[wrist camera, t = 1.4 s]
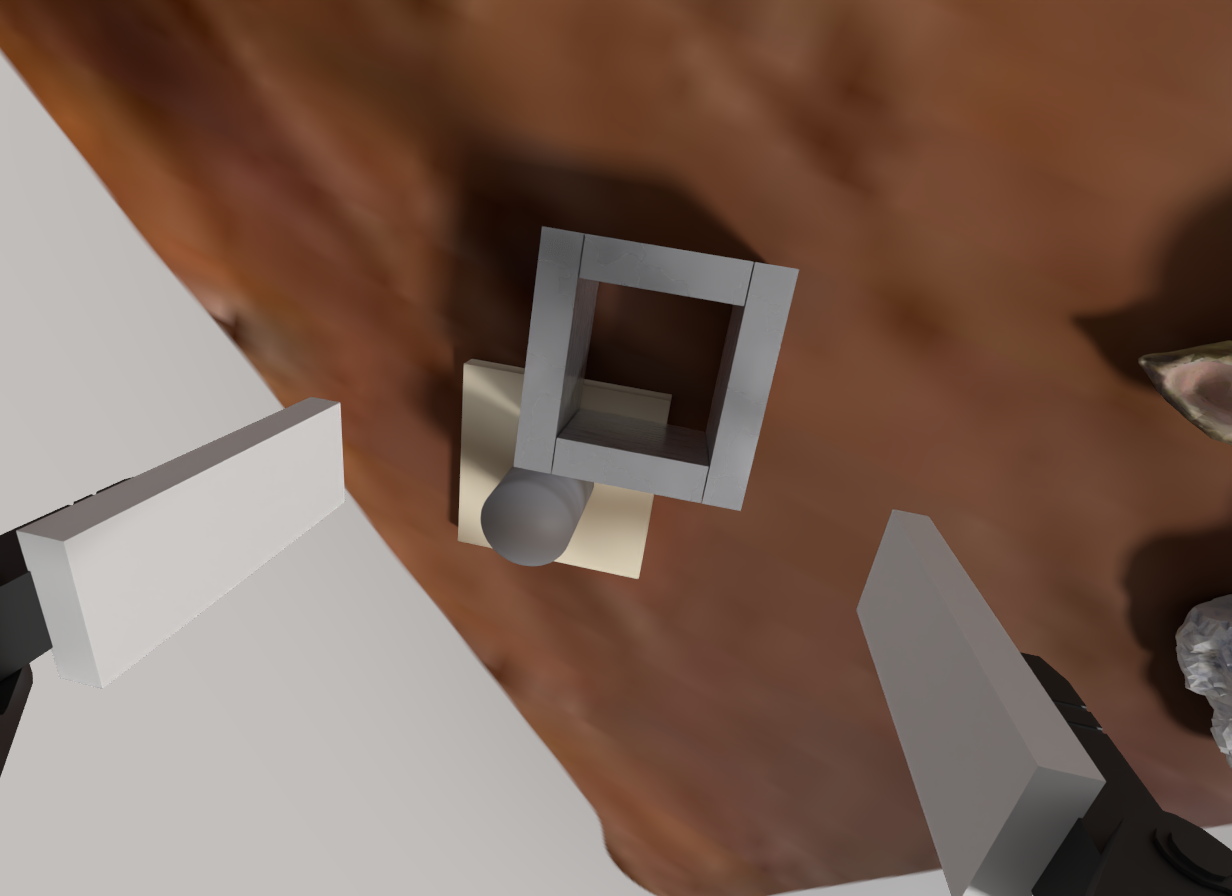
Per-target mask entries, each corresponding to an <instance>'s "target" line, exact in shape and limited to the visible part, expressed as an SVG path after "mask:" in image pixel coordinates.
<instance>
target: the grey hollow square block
mask: <svg viewBox="0 0 1232 896" xmlns="http://www.w3.org/2000/svg"><path fill="white" fill-rule="evenodd" d="M798 271H799V269H794V268H788V267H782V266H776V265H770V264H764V263H758V262H752V261H746V260H740V259H734V258H728V257H722V256H716V255H710V254H704V253H698V252H692V251H686V250H680V249H674V248H668V247H662V246H656V245H650V244H644V243H638V242H632V241H626V240H621V239H615V238H609V237H603V236H597V235H591V234H584V233H579V232H573V231H567V230H561V229H555V228H549V227H543V226H542V231H541V240H540V248H539V256H538V265H537V273H536V282H535V290H534V298H533V307H532V315H531V323H530V332H529V340H528V349H527V357H526V365H525V374H524V382H523V391H522V399H521V407H520V416H519V424H518V433H517V441H516V449H515V458H514V466H513V467H518V468H523V469H528V470H533V471H538V472H543V473H549V474H551V472H552V474H554V475H559V476H564V477H569V478H574V479H579V480H585V481H590V482H595V483H600V484H605V485H610V486H615V487H621V488H626V489H631V490H636V491H641V492H646V493H651V494H656V495H662V496H667V497H672V498H677V499H682V500H687V501H692V502H698V503H701V499H702V503H703V504H708V505H713V506H718V507H723V508H728V509H734V510H739V511H741V507H742V503H743V499H744V495H745V491H746V487H747V482H748V478H749V474H750V470H751V466H752V462H753V458H754V453H755V449H756V445H757V441H758V437H759V433H760V429H761V425H762V420H763V416H764V412H765V408H766V404H767V400H768V396H769V391H770V387H771V383H772V379H773V375H774V371H775V367H776V362H777V358H778V354H779V350H780V346H781V342H782V338H783V333H784V329H785V325H786V321H787V317H788V313H789V309H790V305H791V300H792V296H793V292H794V288H795V284H796V280H797V276H798ZM599 281H601V282H607V283H612V284H618V285H624V286H630V287H636V288H641V289H647V290H653V291H659V292H665V293H670V294H676V295H682V296H688V297H694V298H699V299H705V300H711V301H717V302H723V303H728V304H733V306H732V311H731V316H730V320H729V325H728V330H727V334H726V339H725V344H724V348H723V353H722V358H721V362H720V367H719V372H718V376H717V381H716V386H715V390H714V395H713V400H712V404H711V409H710V414H709V418H708V423H707V428H706V432H705V431H701V430H695V429H690V428H685V427H679V426H674V425H669V424H663V423H658V422H653V421H647V420H642V419H636V418H631V417H626V416H620V415H615V414H610V413H604V412H599V411H594V410H588V409H583V408H581V409H580V405H581V399H582V392H583V385H584V379H585V372H586V365H587V358H588V352H589V345H590V338H591V332H592V325H593V318H594V311H595V305H596V298H597V291H598V285H599Z"/></svg>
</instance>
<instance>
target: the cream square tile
mask: <svg viewBox="0 0 1232 896" xmlns="http://www.w3.org/2000/svg"><path fill="white" fill-rule="evenodd" d="M524 374H525V368H521V367H515V366H510V365H504V364H499V363H493V362H488V361H482V360H477V359H470V360H469V361H467V362H466V363H464V373H463V403H462V434H461V465H460V496H459V527H458V541H461V542H466V543H471V544H476V545H480V546H485V547H490V548H493V549H494V550H495V551H496V552H497V553H498V554H500V555H501V556H503V557H504V558H506V559H507V560H509V561H511V562H514V563H517V564H520V565H525V566H540V565H545V564H548V563H550V562H552V561H556V562H560V563H565V564H570V565H575V566H579V567H584V568H589V569H593V570H598V571H603V572H608V573H612V574H617V575H622V576H626V577H631V578H636V579H638V578H639V574H640V569H641V564H642V559H643V553H644V547H645V542H646V536H647V531H648V525H649V520H650V514H651V509H652V503H653V498H654V494H651V493H646V492H641V491H636V490H631V489H626V488H621V487H615V486H610V485H605V484H600V483H595V482H590V481H585V480H579V479H574V478H569V477H564V476H559V475H554V474H552V472H551V474H549V473H543V472H538V471H533V470H528V469H523V468H518V467H513V466H514V458H515V449H516V441H517V433H518V424H519V416H520V407H521V399H522V391H523V382H524ZM671 398H672V395H671V394H665V393H660V392H654V391H649V390H643V389H638V388H632V387H627V386H621V385H615V384H610V383H604V382H599V381H593V380H588V379H584V385H583V392H582V399H581V405H580V409H581V408H583V409H588V410H594V411H599V412H604V413H610V414H615V415H620V416H626V417H631V418H636V419H642V420H647V421H653V422H658V423H663V424H667V420H668V415H669V409H670V404H671Z"/></svg>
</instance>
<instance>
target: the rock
mask: <svg viewBox="0 0 1232 896" xmlns="http://www.w3.org/2000/svg"><path fill="white" fill-rule="evenodd" d="M1175 637H1176V641H1177V646H1176V651H1177V660H1178V662H1179V665H1180V668H1181V671H1182V672H1183V673H1184V675H1185V688H1187V689H1189V690H1191V691H1193V692H1195V693H1198V694H1201V695H1205V696H1206V698H1207V700H1208V702H1209V704H1210V705H1211V706H1212V708H1213V709H1214V713H1213V717H1212V725H1213V727H1212V728H1210V730H1211V732H1212V735H1213V737H1214V739H1215V741H1216V744H1217V746H1218V747H1219V748H1220V749H1221V752H1223V753H1225V755H1226V758H1227V762H1228V764H1229V766H1230V767H1231V769H1232V594H1229V595H1226V596H1222V597H1218V598H1214V599H1213V600H1212V601H1209V602H1205V603H1201V604H1199V605H1196V606H1195V607H1193V608H1192V609H1191V611H1190V612H1189V613H1188V615H1187V617H1186V619H1185V621H1184V623H1183V625H1182V626H1180V627H1179V628H1178V630H1177V633H1176V636H1175Z"/></svg>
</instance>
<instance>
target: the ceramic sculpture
mask: <svg viewBox="0 0 1232 896" xmlns="http://www.w3.org/2000/svg"><path fill="white" fill-rule="evenodd" d="M1138 361H1139V364H1140V366H1141V367H1142V368H1143V370H1144V371H1145V372H1146V374H1147V375H1148V376H1149V378H1150V379H1151V381H1152V383H1153V385H1154V387H1155V389H1156V391H1157V392H1158V393H1160V394H1161V395H1162V396H1163V398H1164V399H1165V400H1166V401H1167V402H1168V403H1169V404H1170V405H1172V406H1173V407H1174V408H1175V409H1176V410H1177V411H1179V412H1180V413H1181V414H1182V415H1183V416H1184V417H1185V418H1186V419H1187V420H1188V421H1190V422H1191V423H1192V424H1194V425H1195V426H1196V427H1198V428H1199V429H1200V430H1201V431H1203V432H1204V433H1205V434H1206V435H1208V436H1209V437H1210V438H1212V439H1215V440H1218V441H1221V442H1225V443H1228V444H1230V445H1232V341H1223V342H1217V343H1212V344H1207V345H1201V346H1197V347H1192V348H1187V349H1182V350H1178V351H1173V352H1164V353H1152V354H1147V355H1143V356H1142V357H1140V358H1139V359H1138Z"/></svg>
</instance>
